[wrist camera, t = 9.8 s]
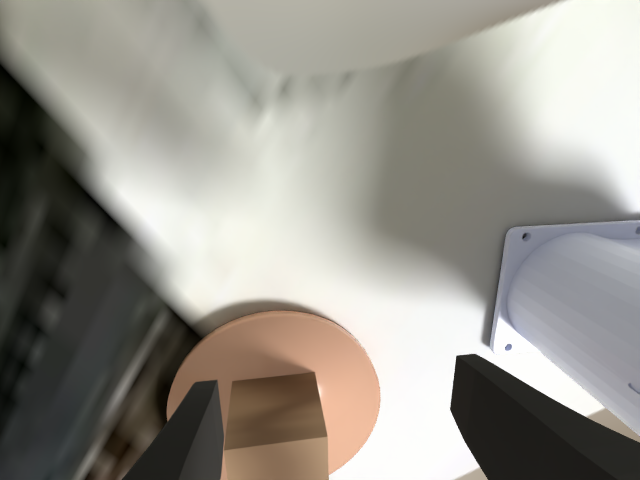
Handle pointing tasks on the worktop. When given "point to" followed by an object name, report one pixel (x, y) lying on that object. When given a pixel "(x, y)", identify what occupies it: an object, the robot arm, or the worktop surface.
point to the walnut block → (276, 430)
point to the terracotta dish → (290, 371)
